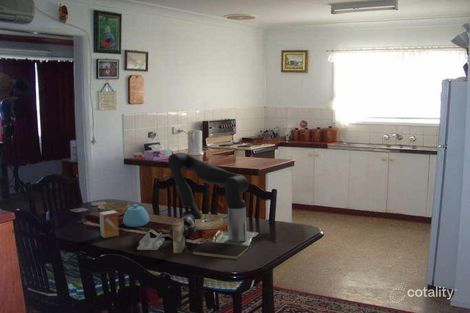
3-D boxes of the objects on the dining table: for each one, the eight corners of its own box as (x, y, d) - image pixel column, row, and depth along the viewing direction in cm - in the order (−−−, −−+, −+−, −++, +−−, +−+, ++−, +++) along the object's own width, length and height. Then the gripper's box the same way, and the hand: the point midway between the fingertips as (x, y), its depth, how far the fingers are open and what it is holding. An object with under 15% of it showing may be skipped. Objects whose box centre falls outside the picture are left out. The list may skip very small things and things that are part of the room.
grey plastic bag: (164, 240, 276) (164, 232, 276) (157, 250, 261) (156, 242, 260) (145, 239, 277) (145, 232, 277) (137, 249, 262) (136, 242, 261)
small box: (104, 238, 282) (103, 214, 280) (100, 235, 287) (99, 212, 285) (119, 235, 286) (117, 212, 284) (114, 233, 291) (113, 209, 289)
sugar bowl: (154, 222, 311) (153, 203, 309) (137, 229, 298) (136, 209, 296) (135, 219, 319) (134, 200, 317) (117, 225, 306) (116, 206, 304)
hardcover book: (236, 260, 244) (236, 255, 244) (192, 255, 253) (192, 250, 253) (249, 249, 259) (249, 245, 259) (206, 245, 268) (206, 240, 267)
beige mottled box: (184, 246, 265) (183, 219, 263) (180, 253, 255) (179, 224, 253) (178, 246, 265) (176, 219, 263) (173, 253, 256) (172, 224, 253)
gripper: (171, 217, 276) (164, 227, 260) (198, 218, 275) (192, 227, 258) (172, 231, 278) (164, 241, 261) (199, 232, 276) (193, 242, 259)
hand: (178, 234), depth 260 cm, fingers open, 4 cm apart
